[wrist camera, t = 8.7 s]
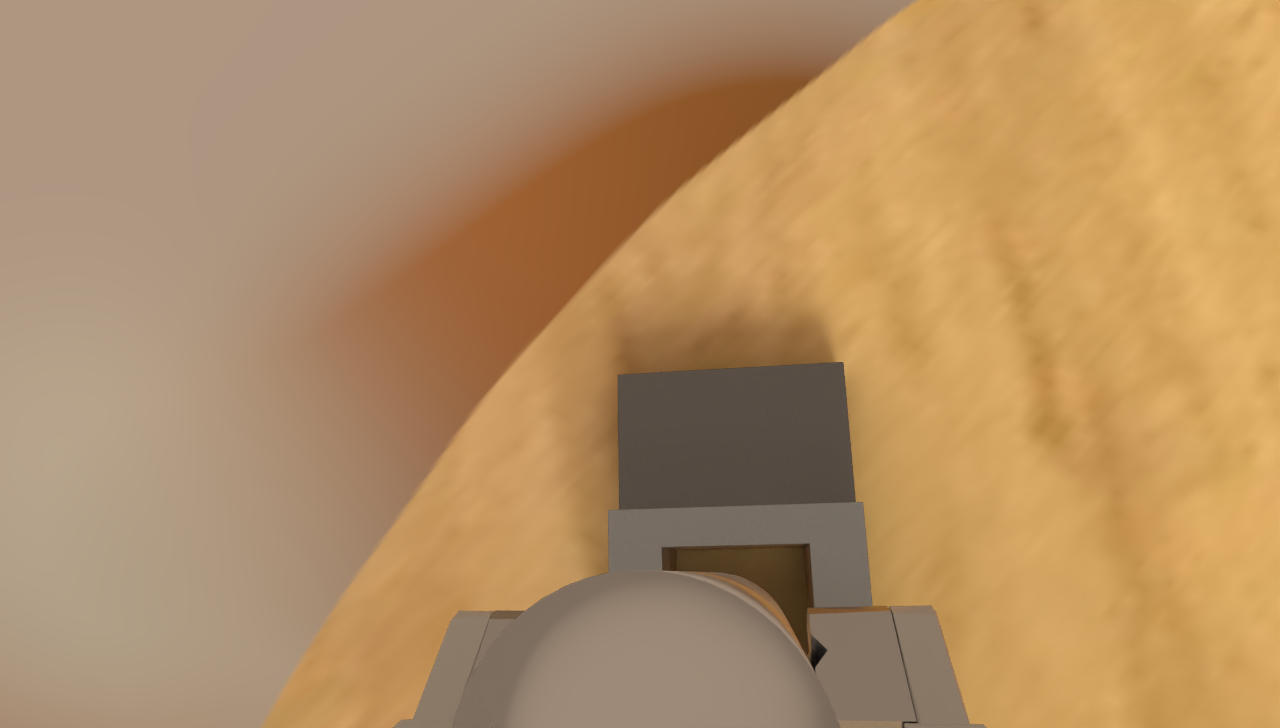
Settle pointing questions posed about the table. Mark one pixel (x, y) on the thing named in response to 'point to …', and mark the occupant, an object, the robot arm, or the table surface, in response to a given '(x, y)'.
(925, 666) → the robot arm
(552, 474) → the table surface
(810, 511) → the grey socket block
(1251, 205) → the table surface
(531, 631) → the steel pin
